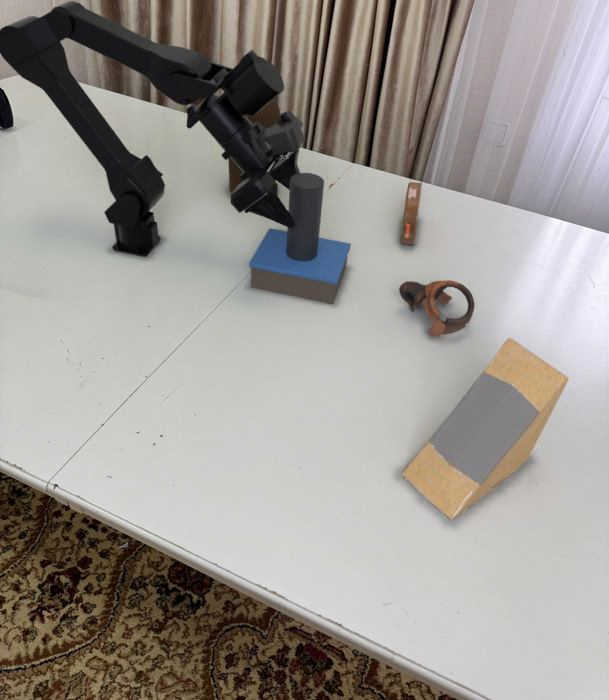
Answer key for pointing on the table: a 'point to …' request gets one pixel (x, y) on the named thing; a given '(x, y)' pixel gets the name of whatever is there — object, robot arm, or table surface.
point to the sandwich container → (488, 430)
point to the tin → (411, 213)
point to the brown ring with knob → (428, 294)
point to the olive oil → (267, 119)
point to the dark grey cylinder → (304, 216)
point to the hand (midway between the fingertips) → (301, 212)
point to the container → (299, 268)
